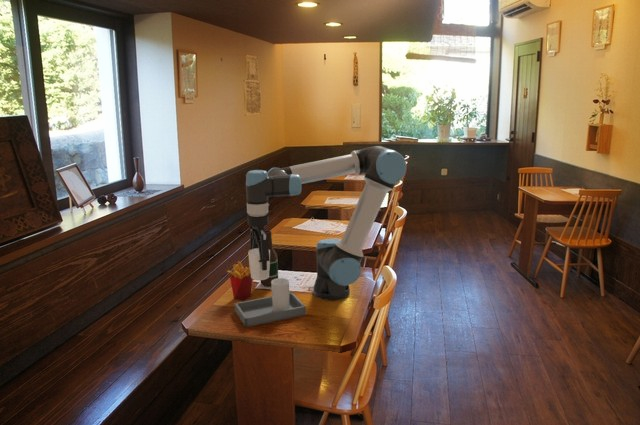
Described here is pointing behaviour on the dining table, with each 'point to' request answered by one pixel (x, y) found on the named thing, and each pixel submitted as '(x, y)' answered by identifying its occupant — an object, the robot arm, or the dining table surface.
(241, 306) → the tray
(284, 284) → the mug
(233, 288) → the french fries
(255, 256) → the white cup
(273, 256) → the beer bottle
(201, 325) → the dining table surface
